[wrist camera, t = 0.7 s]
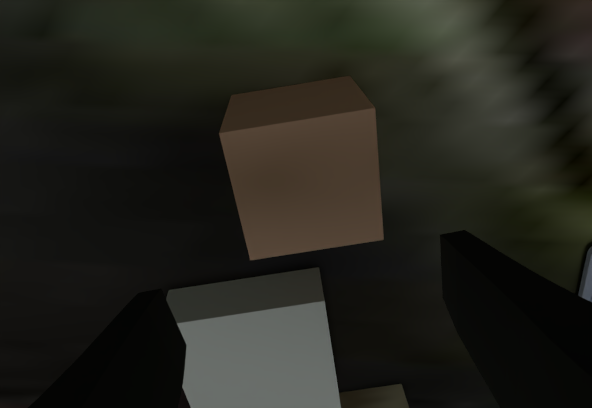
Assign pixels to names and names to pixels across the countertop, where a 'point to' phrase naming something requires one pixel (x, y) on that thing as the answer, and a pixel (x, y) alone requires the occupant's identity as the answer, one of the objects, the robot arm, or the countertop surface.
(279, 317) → the grey block
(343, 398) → the olive block
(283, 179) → the terracotta cube
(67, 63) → the countertop surface
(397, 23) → the countertop surface
